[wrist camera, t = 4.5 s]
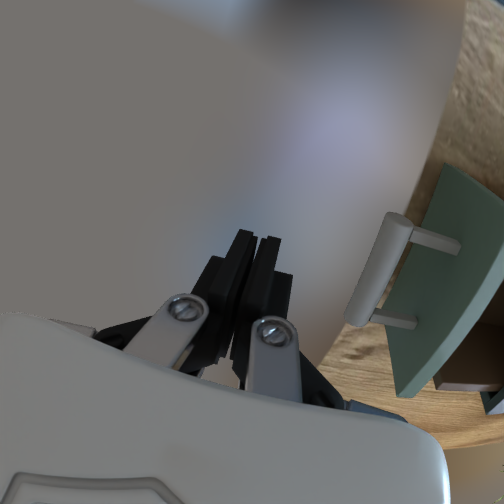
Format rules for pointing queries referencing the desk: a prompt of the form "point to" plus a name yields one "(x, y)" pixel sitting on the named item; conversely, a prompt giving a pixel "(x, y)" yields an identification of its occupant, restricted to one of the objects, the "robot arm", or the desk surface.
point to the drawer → (441, 290)
